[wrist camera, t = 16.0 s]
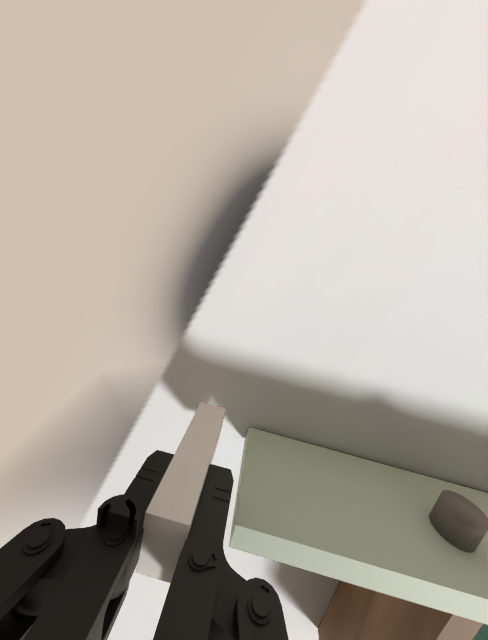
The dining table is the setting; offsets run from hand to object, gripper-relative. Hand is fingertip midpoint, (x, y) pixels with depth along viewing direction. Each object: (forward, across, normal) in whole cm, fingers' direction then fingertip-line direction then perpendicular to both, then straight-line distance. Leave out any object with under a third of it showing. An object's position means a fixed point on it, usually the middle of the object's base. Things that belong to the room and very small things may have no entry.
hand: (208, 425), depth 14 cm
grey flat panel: (+1, +13, 0) cm, 13 cm away
